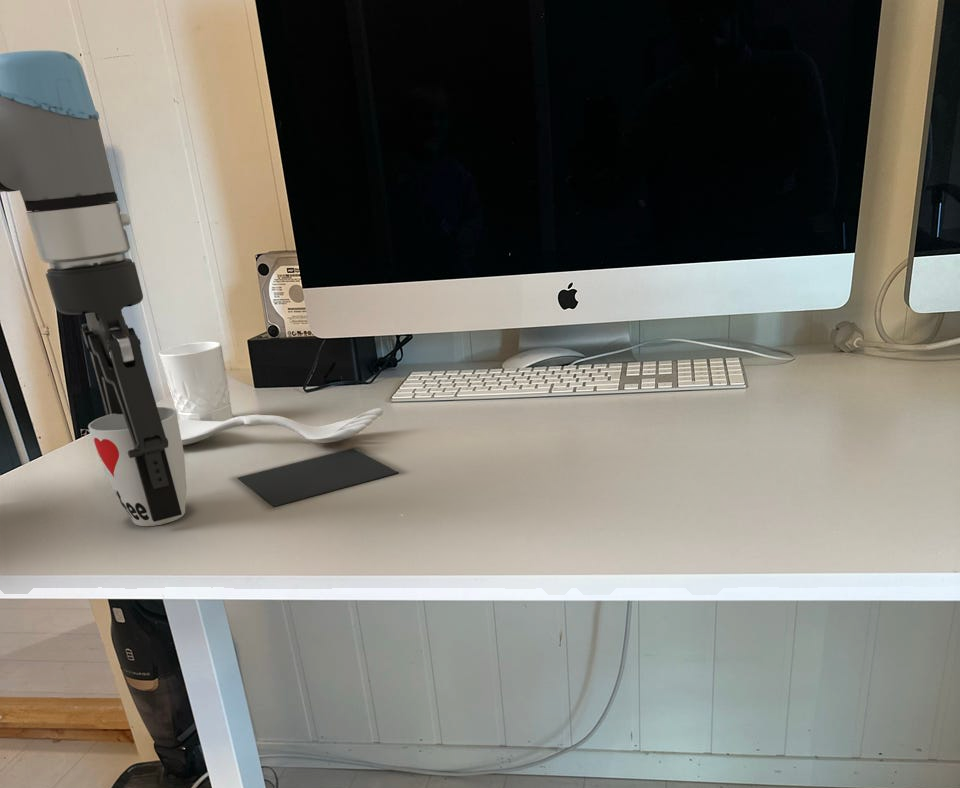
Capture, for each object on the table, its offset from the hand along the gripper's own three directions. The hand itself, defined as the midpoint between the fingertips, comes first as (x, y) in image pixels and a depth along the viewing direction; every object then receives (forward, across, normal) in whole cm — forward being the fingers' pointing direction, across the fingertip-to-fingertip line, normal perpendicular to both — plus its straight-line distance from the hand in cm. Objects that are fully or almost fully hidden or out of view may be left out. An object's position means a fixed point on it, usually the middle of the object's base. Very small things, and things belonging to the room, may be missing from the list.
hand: (156, 505), depth 91 cm
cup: (+1, 0, 0) cm, 1 cm away
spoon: (+1, +18, -16) cm, 24 cm away
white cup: (+1, +32, -14) cm, 35 cm away
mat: (+1, 0, -17) cm, 17 cm away
